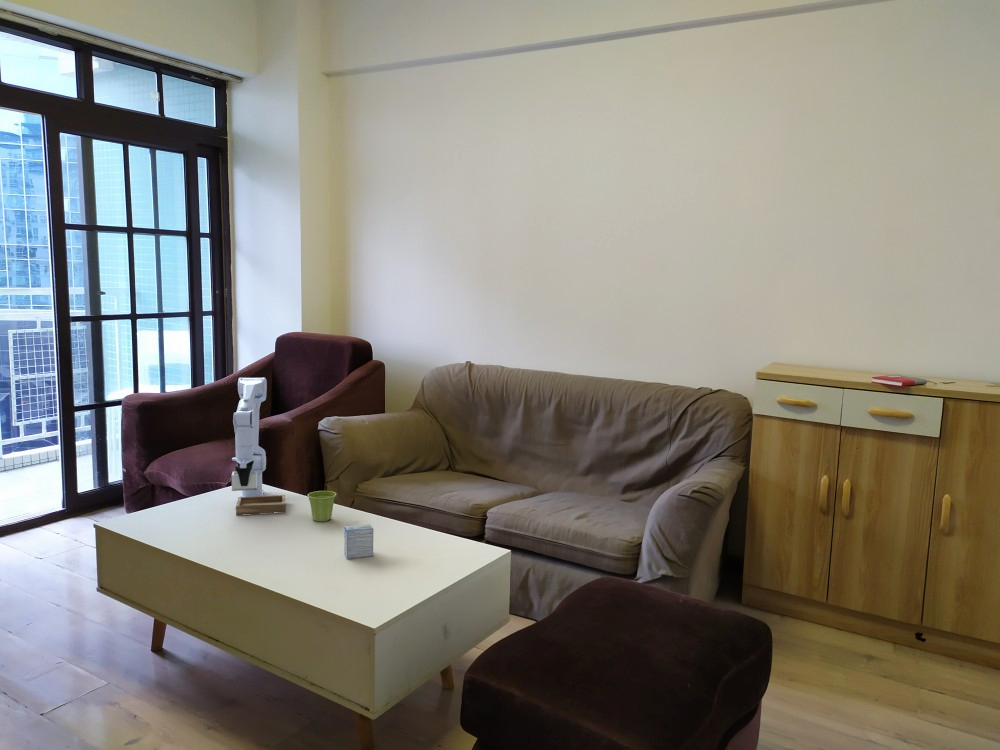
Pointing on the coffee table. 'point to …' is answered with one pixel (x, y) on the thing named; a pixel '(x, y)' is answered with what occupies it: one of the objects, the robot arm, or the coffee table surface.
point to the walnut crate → (260, 504)
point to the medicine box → (358, 541)
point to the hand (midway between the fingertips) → (244, 483)
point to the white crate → (251, 483)
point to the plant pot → (321, 504)
